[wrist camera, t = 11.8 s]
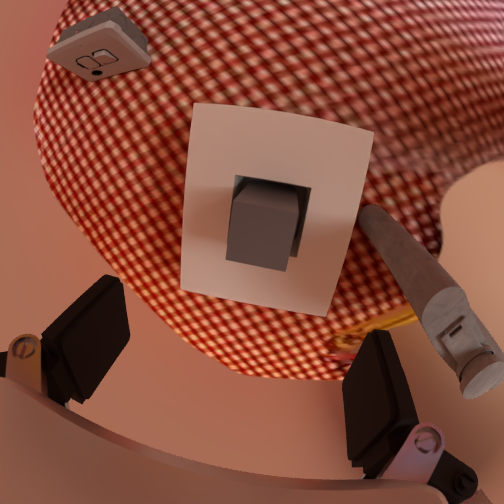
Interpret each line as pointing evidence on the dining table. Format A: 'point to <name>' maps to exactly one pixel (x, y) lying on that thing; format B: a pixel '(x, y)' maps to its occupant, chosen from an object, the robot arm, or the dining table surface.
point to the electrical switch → (101, 46)
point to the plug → (263, 225)
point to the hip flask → (437, 304)
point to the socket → (275, 172)
